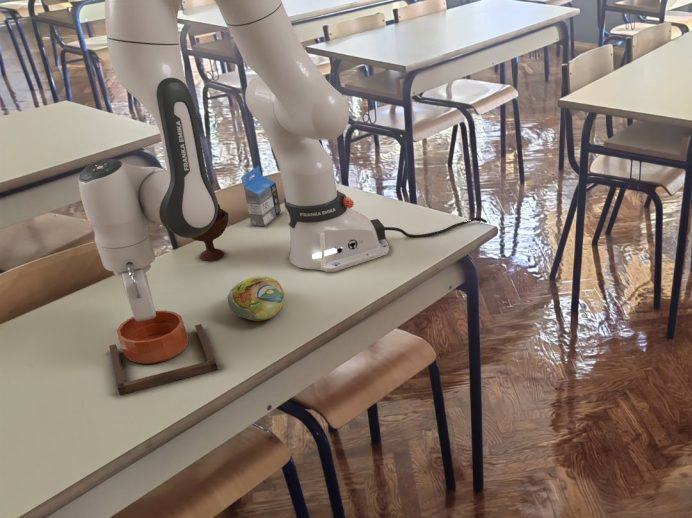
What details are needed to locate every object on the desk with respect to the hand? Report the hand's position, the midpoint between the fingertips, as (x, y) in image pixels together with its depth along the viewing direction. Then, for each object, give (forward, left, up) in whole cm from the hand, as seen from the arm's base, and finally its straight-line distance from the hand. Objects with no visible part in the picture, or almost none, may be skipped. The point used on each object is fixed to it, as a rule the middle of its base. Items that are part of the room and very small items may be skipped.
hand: (148, 319), depth 145 cm
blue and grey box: (-33, -44, -3) cm, 55 cm away
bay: (-1, +11, -3) cm, 12 cm away
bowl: (0, +7, -3) cm, 7 cm away
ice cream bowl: (-17, -29, -3) cm, 33 cm away
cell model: (-21, +1, -3) cm, 21 cm away
